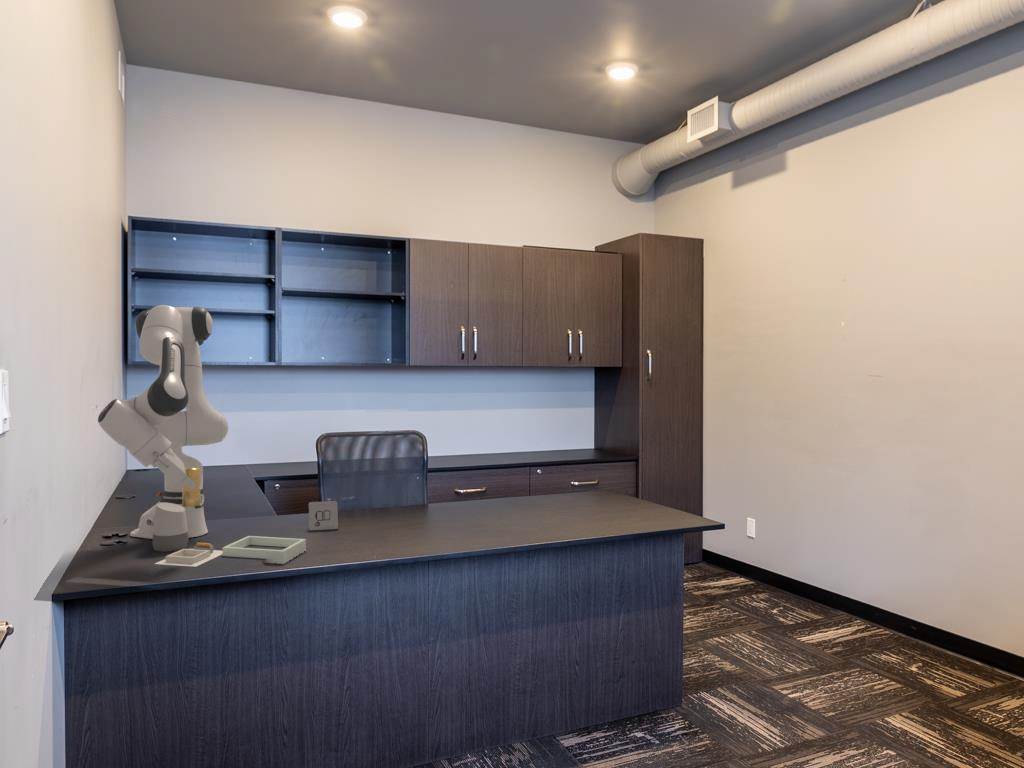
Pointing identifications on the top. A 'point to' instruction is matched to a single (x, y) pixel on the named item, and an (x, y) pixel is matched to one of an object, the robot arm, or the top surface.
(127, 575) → the top surface
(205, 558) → the base
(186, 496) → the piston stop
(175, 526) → the smart speaker
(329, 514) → the electrical switch
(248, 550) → the tray
